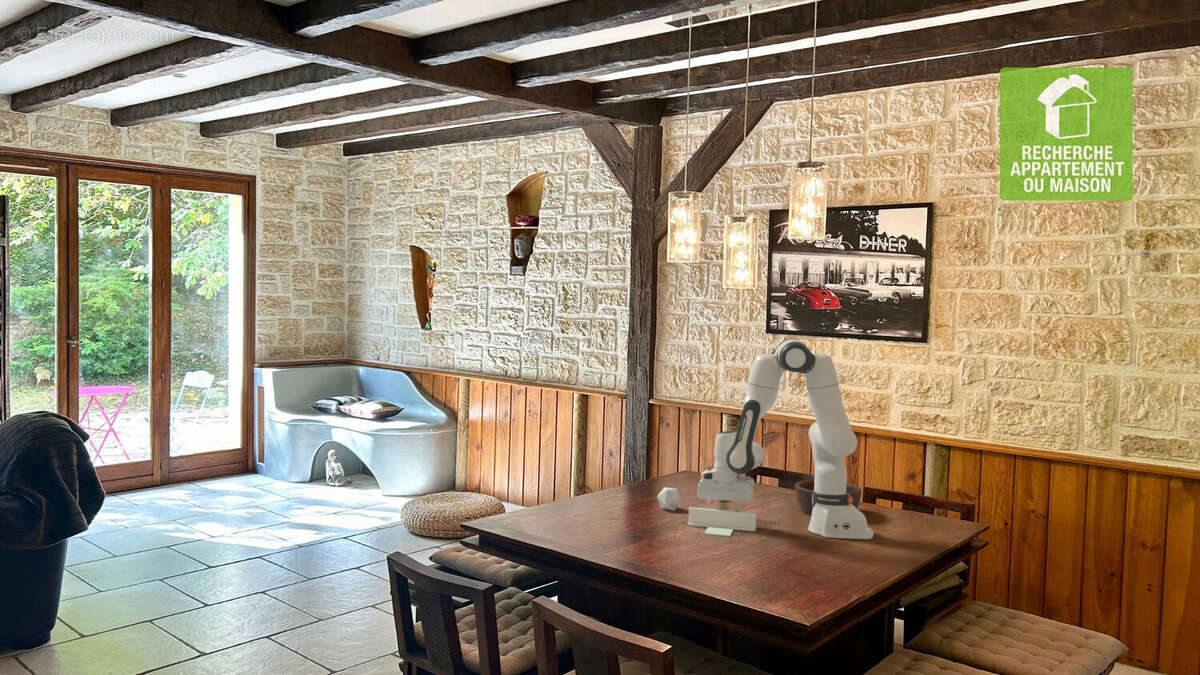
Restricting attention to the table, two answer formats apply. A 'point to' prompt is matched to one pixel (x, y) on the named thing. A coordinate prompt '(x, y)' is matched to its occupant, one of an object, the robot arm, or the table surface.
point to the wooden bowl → (806, 490)
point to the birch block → (724, 505)
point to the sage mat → (718, 531)
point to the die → (669, 498)
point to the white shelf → (722, 519)
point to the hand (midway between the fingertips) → (724, 512)
